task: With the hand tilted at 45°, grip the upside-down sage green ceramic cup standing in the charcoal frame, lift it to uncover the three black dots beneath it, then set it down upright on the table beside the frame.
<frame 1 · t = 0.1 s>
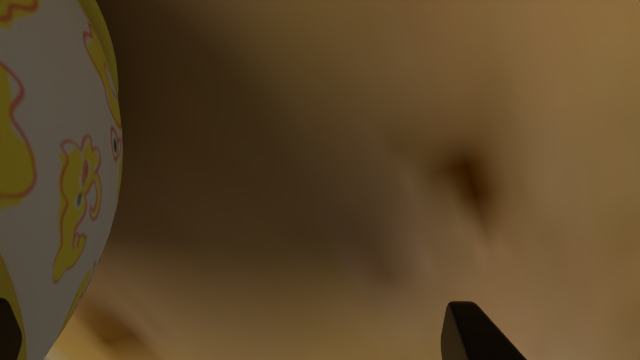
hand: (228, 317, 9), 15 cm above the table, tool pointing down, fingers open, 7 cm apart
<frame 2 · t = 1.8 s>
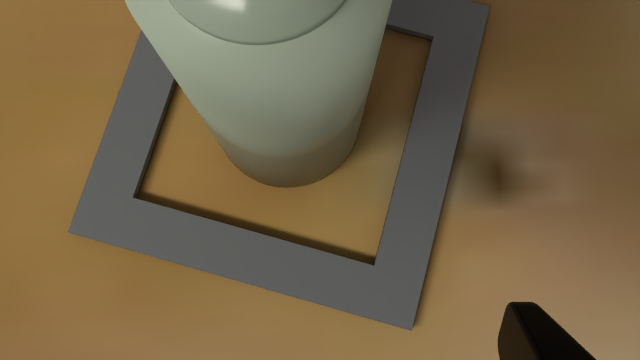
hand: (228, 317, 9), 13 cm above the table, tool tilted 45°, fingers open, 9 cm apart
dot frame: (288, 117, 24), on the table
sage cup: (288, 116, 24), on the table, touching dot frame
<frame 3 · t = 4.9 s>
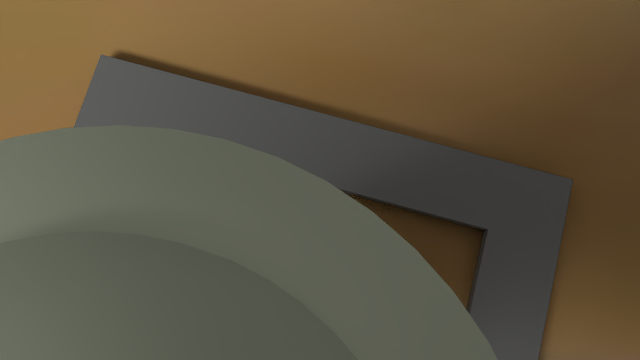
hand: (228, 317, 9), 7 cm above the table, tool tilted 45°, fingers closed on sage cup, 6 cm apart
dot frame: (264, 359, 15), on the table
sage cup: (263, 359, 15), on the table, touching dot frame, gripper
when the fingers open (8 cm above the table, at t = 10.7 s): sage cup drops 2 cm, on the table.
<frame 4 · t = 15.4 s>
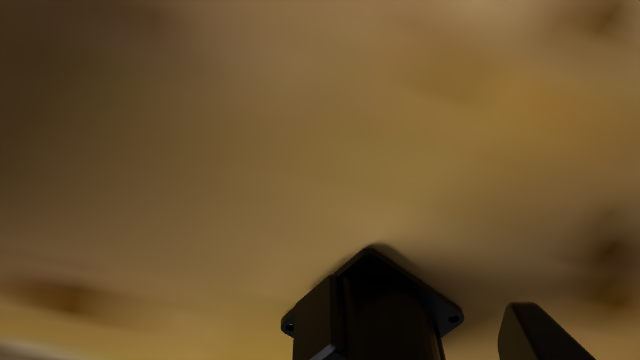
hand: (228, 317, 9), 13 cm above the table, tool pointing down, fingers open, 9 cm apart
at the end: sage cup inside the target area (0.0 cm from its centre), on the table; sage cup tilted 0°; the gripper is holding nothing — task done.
